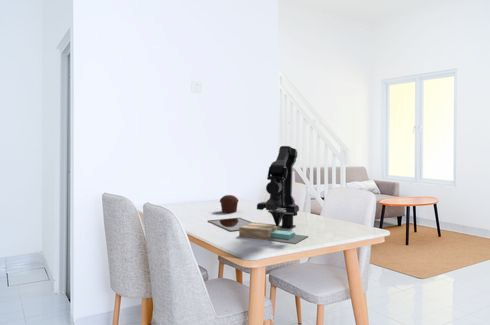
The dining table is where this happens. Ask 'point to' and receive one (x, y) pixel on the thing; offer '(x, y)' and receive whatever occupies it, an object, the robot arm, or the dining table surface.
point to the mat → (292, 240)
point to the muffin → (229, 204)
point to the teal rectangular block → (283, 234)
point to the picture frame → (230, 223)
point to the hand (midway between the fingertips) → (277, 226)
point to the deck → (258, 230)
